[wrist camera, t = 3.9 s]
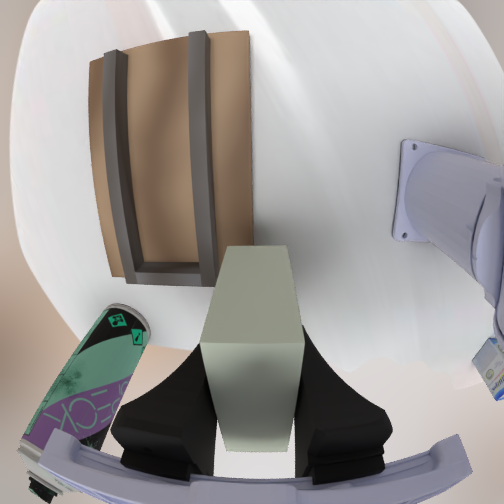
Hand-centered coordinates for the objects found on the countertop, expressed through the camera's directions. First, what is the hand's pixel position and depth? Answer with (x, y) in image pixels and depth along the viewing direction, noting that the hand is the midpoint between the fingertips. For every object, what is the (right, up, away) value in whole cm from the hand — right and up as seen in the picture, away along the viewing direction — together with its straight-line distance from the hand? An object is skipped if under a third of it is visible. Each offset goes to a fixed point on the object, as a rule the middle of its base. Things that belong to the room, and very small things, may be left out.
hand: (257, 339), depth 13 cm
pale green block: (0, +1, +2) cm, 3 cm away
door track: (-6, +11, +5) cm, 14 cm away
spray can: (-13, -3, +12) cm, 18 cm away
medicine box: (+35, -10, +13) cm, 39 cm away
